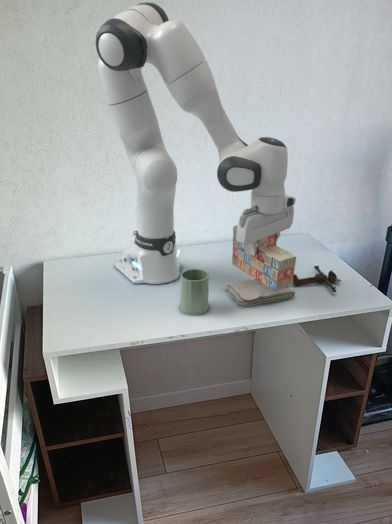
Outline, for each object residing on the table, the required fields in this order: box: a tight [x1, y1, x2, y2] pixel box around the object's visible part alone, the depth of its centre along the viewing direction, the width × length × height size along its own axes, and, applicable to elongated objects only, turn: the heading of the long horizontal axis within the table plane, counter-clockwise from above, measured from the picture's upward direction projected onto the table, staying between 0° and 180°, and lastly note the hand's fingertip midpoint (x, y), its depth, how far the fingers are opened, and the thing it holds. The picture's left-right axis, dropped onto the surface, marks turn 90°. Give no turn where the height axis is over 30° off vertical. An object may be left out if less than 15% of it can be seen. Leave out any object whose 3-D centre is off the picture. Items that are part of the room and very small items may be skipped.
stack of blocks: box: [231, 224, 297, 291], centre depth 145 cm, size 21×6×12 cm, turn 32°
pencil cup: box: [179, 268, 210, 316], centre depth 142 cm, size 8×8×10 cm
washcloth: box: [226, 278, 296, 307], centre depth 151 cm, size 12×18×3 cm, turn 111°
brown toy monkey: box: [293, 265, 342, 294], centre depth 158 cm, size 18×4×14 cm
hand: (263, 250), depth 144 cm, fingers closed on stack of blocks, 6 cm apart
